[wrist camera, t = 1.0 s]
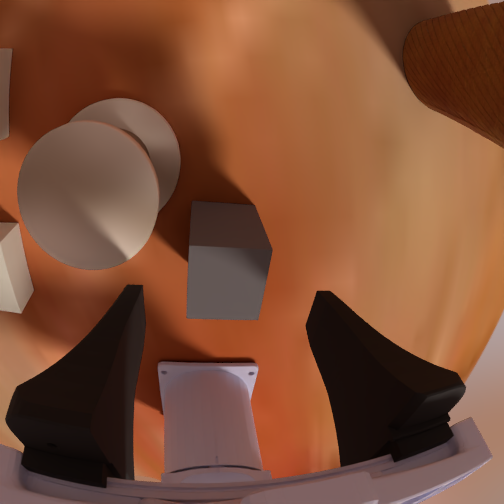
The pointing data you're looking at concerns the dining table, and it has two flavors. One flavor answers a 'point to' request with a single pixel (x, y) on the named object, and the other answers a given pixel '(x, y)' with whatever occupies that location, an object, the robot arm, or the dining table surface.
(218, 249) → the block
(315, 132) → the dining table surface
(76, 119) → the bobbin post
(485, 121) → the disposable coffee cup
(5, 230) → the notch board
